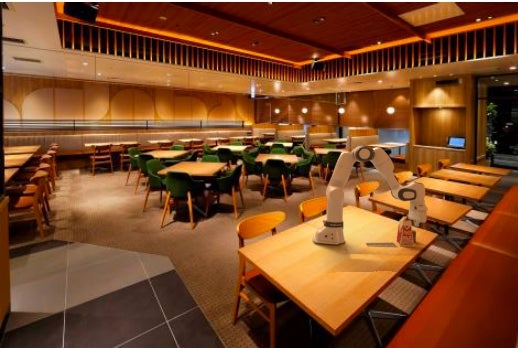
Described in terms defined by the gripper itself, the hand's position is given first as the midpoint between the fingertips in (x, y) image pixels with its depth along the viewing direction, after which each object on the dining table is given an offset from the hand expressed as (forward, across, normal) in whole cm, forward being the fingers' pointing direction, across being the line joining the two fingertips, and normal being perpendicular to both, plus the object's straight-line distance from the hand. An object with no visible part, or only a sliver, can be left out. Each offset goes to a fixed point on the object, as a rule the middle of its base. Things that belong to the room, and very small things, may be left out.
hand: (416, 226), depth 193 cm
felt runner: (+13, +2, -24) cm, 27 cm away
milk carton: (+13, 0, -7) cm, 15 cm away
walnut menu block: (+13, -6, 0) cm, 14 cm away
